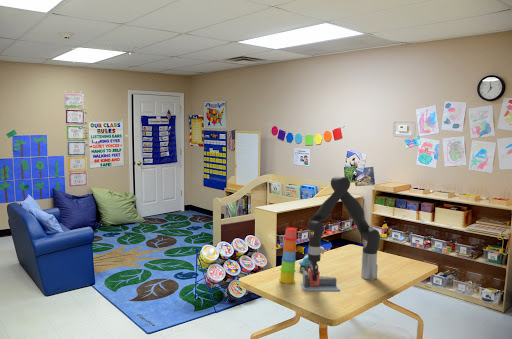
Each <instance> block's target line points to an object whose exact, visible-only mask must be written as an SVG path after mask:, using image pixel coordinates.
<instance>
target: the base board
mask: <svg viewBox="0 0 512 339" xmlns="http://www.w3.org/2000/svg"><path fill="white" fill-rule="evenodd" d="M299 283H300V286H301V289H302V291H304V292H310V291H311V292H315V291H316V292H323V291H324V292H326V291H327V292H328V291H329V292H334V291H335V292H340V291H341V290H340V286H338V285H337V283H336V286H308V288H306V287H304V285H303V281H300V282H299Z"/></svg>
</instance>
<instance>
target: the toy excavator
mask: <svg viewBox="0 0 512 339" xmlns="http://www.w3.org/2000/svg"><path fill="white" fill-rule="evenodd" d="M324 253H325V248H324V247H323V246H321V255H324ZM298 265H299V271H300V272H301V273H303V271H308V269H310V261H309V260H308V254H306V255H305V256H304V257H303V259H301V260H299V262H298Z"/></svg>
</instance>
